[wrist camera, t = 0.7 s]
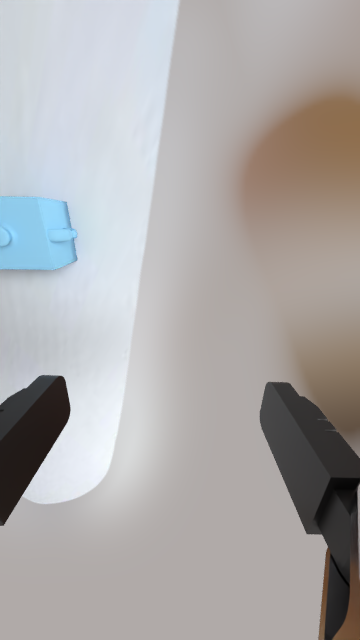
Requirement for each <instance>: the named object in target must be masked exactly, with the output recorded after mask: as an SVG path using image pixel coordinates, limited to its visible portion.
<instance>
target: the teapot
mask: <svg viewBox="0 0 360 640" xmlns="http://www.w3.org/2000/svg"><path fill="white" fill-rule="evenodd" d="M76 237H77V232H76V230H75V229H72V228H71V223H70V217H69V212H68V207H67V202H63V201H58V200H52V199H46V198H40V197H7V196H0V269H32V270H56V269H58V268H60V267H63V266H65V265H67V264H70V263H72V262H74V261H77V255H76V250H75V245H74V239H73V238H76Z"/></svg>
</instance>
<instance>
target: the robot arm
mask: <svg viewBox="0 0 360 640" xmlns="http://www.w3.org/2000/svg"><path fill="white" fill-rule="evenodd" d="M69 416H70V402H69V397H68V392H67V387H66V382H65V379H64V377H63V376H51V375H41V376H39V377H38V378H37V379H36V380H35V381H34V382H33V383H32V384H30V385H29V386H28V387H27V388H24V389H22V390H21V391H19V392H17V393H15V394H14V395H12V396H10V397H9V398H7V399H6V400H5V401H4V402H3V403H2V404H1V405H0V526H3V525H4V524H5V522H6V521H7V519H8V517H9V516H10V514H11V513H12V511H13V509H14V507H15V506H16V505H17V503H18V501H19V500H20V498H21V496H22V495H23V493H24V492H25V490H26V488H27V487H28V485H29V484H30V482H31V480H32V479H33V477H34V475H35V474H36V472H37V471H38V469H39V467H40V466H41V464H42V462H43V461H44V459H45V458H46V456H47V454H48V453H49V451H50V450H51V448H52V446H53V445H54V443H55V441H56V440H57V438H58V437H59V435H60V433H61V432H62V430H63V429H64V427H65V425H66V424H67V422H68V419H69ZM260 423H261V427H262V430H263V432H264V435H265V437H266V440H267V442H268V444H269V447H270V449H271V451H272V454H273V456H274V458H275V461H276V463H277V465H278V468H279V470H280V472H281V475H282V477H283V479H284V481H285V484H286V486H287V488H288V491H289V493H290V496H291V498H292V500H293V503H294V505H295V507H296V510H297V512H298V514H299V517H300V519H301V522H302V524H303V526H304V529H305V531H306V533H307V534H322V535H323V537H324V539H325V541H326V543H327V545H328V548H327V551H326V557H325V569H324V580H323V591H322V602H321V615H320V625H319V637H318V640H360V458H359V457H358V456H357V454H356V453H355V452H354V451H353V450H352V449H351V447H350V446H349V445H348V444H347V442H346V441H345V440H344V439H343V437H342V436H341V435H340V434H339V433H338V432H336V429H335V427H334V426H333V425H332V424H331V423H330V422H328V419H327V418H326V416H325V415H324V414H323V413H322V411H321V410H320V409H319V408H318V407H317V406H316V405H315V404H313V403H312V402H311V401H309V400H308V399H307V398H305V397H301V396H299V395H298V393H297V392H296V391H295V389H294V388H293V387H292V386H291V384H289V383H284V382H268V383H267V384H266V387H265V391H264V396H263V400H262V405H261V410H260Z"/></svg>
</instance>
